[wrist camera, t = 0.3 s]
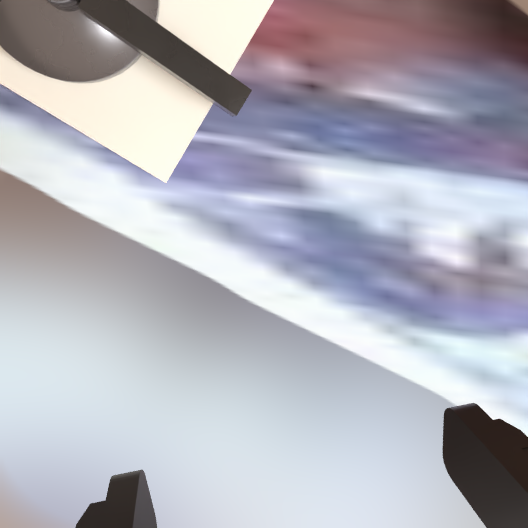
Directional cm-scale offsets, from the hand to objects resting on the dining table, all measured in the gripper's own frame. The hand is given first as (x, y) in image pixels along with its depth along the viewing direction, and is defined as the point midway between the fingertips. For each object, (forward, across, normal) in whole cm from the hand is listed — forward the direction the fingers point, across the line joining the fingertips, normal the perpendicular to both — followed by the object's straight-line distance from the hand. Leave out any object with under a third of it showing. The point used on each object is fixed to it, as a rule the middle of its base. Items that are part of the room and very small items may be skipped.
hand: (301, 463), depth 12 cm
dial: (+25, +5, -15) cm, 29 cm away
